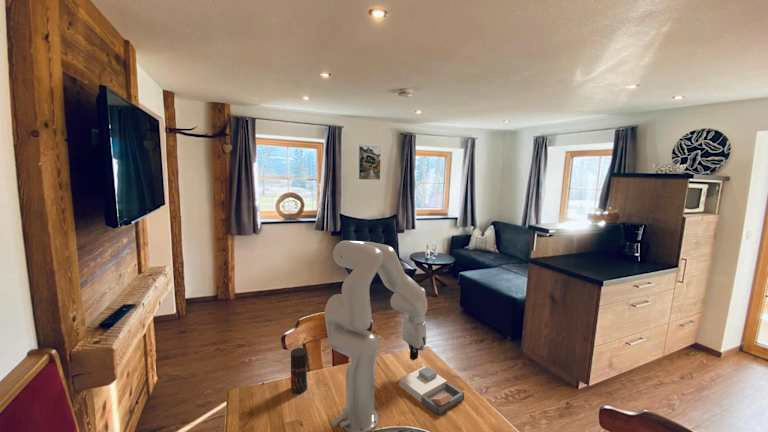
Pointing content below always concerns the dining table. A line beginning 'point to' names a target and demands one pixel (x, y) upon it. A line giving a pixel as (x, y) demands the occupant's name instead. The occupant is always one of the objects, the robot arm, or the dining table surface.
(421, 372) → the slate tile
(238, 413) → the dining table surface
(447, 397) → the terracotta tile
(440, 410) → the tray
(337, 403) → the dining table surface
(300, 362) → the deodorant
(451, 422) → the dining table surface
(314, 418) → the dining table surface
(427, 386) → the board
